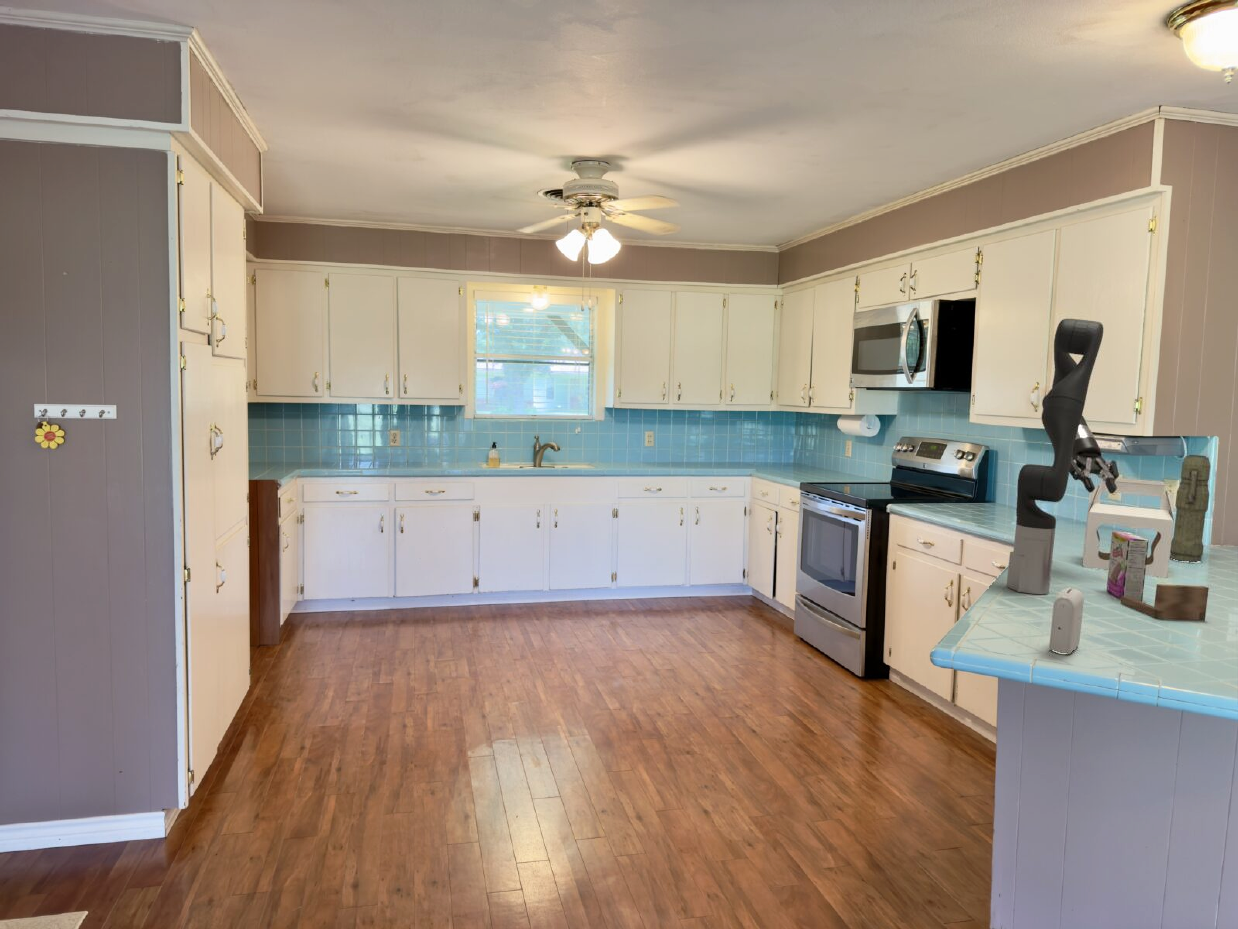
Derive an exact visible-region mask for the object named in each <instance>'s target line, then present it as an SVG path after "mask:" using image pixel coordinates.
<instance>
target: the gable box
mask: <svg viewBox="0 0 1238 929" xmlns="http://www.w3.org/2000/svg"><path fill="white" fill-rule="evenodd" d="M1100 479H1101V480H1100V483H1099V485H1098V486H1097V487H1096V486H1095V489H1094V491H1093V492H1089V497H1088V502H1087V503H1089V504H1088V507H1087V515H1086V525H1085V532H1084V533H1085V534H1084V544H1083V545H1084V546H1083V554H1082V568H1087V569H1093V568H1098V569H1097V570H1100V569H1103V570H1102V571H1108V570H1109V561H1110V552H1104V551H1103V552H1102V551H1100V547H1101V546H1100V540H1101V539H1100V534H1099V530H1098V528H1099V527H1100V526H1102V525H1117V526H1121V527H1125V528H1129V529H1134V530H1135V529H1136V530H1153V531H1155V532H1156V531H1157V533H1156V534H1155V535H1156V536H1155V537H1154V539H1153V541H1152V543H1151V545H1150V555H1149V556H1147V561H1146V570H1145V576H1146V575H1153V576H1160V577H1159V578H1161V577H1165V578H1164V579H1168V574H1169V564H1170V550H1171V541H1172V539H1173V533H1174V525H1175V520H1174V515H1173V512H1174V511H1175V510H1174V509H1175V506H1174V505H1175V493H1174V492H1169V493H1168V491H1167V490H1166V484H1165V482H1164V481H1161V480H1152V479H1151V480H1150V479H1149V480H1148V479H1140V478H1139V479H1138V478H1126V477H1118V478H1117V479H1116V480H1115V481H1114V482H1115V484H1116V486H1117V489H1116V491H1115V492H1114V493H1115V494H1116V493H1118V494H1129V495H1139V496H1149V497H1152V496H1153V497H1157V498H1158V497H1160V498H1161V499H1160V500H1161V506H1160V508H1154V507H1141V506H1131V505H1122V504H1121V505H1120V504H1110V503H1101V496H1102V494H1103V493H1104V492H1105V493H1109V491H1108V489H1107V486H1106V484H1105V482H1104V480H1103V479H1102V478H1100ZM1153 576H1152V577H1153Z"/></svg>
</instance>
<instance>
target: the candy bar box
mask: <svg viewBox="0 0 1238 929" xmlns="http://www.w3.org/2000/svg"><path fill="white" fill-rule="evenodd" d="M1110 542H1111V543H1110V550H1109V553H1110V561H1109V571H1108V570H1107V572H1108V573H1107V583H1106V591H1107V592H1108V593H1109V594H1111V595H1113V596H1115V597H1116V598H1117V599H1119V600H1121V596H1128V597H1130V598H1133V599H1135V600H1138V601H1141V602H1143V599H1144V598H1143V597H1144V588H1145V578H1146V577H1145V576H1146V575H1145V570H1146V561H1147V558H1148V549H1149V543H1150V541H1149V539H1146V538H1145V537H1142V536H1139V535H1137V534H1135V533H1132V532H1127V531H1118V530H1117V531H1111V540H1110Z"/></svg>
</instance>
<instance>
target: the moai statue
mask: <svg viewBox="0 0 1238 929" xmlns="http://www.w3.org/2000/svg"><path fill="white" fill-rule="evenodd" d="M1181 465H1182V466H1181V472H1180V479H1181V480H1180V482H1179V486H1178V488H1177V490H1176V496H1175V503H1174V505H1175V506H1174V507H1175V509H1176V512H1175V520H1174V527H1173V535H1172V541H1171V550H1170V558H1172V559H1175V560H1178V561H1189V562H1197V561H1201V562H1202V556H1203V555H1204V544H1203V537H1204V529H1205V528H1204V527H1205V520H1206V513H1207V511H1208V509H1209V500H1210V491H1209V481H1210V472H1211V462H1210V459H1209V457H1207V456H1206V455H1201V454H1200V455H1196V454H1188V455H1186V456H1185V457H1184V459H1183V462H1182V464H1181ZM1170 558H1169V559H1170ZM1178 561H1177V562H1178Z"/></svg>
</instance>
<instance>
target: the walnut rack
mask: <svg viewBox="0 0 1238 929" xmlns="http://www.w3.org/2000/svg"><path fill="white" fill-rule="evenodd" d="M1209 589H1210V588H1209V587H1208V586H1206V585H1205V586H1204V585H1187V584H1185V585H1182V584H1181V585H1180V584H1160V583H1158V584H1156V589H1155V597H1154V606H1153V605H1151V604H1147V603H1145V602H1143V601H1142V602H1141V601H1138V600H1135V599H1133V598H1130V597H1128V596H1121V599H1120V605H1122V606H1125V607H1128V608H1130V609H1132V610H1134V609H1135V611H1137V612H1140V613H1142V614H1144V613H1145V615H1146V614H1147V616H1149V617H1151V616H1152V618H1154V619H1156V620H1169V619H1174V621H1175V620H1177V621H1195V620H1201V621H1202V620H1203V622H1205V621H1206V614H1207V607H1208V606H1207V605H1208V598H1209V597H1208V596H1209ZM1201 621H1200V622H1201Z"/></svg>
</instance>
